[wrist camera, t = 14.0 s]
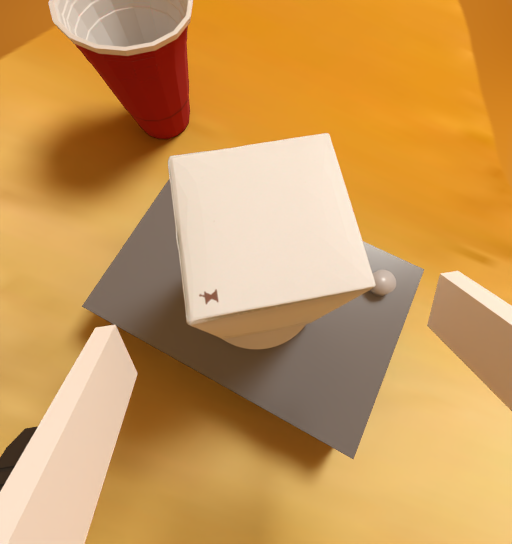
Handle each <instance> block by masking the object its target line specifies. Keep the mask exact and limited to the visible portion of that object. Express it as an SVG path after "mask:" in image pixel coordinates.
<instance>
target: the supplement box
mask: <svg viewBox="0 0 512 544" xmlns="http://www.w3.org/2000/svg"><path fill="white" fill-rule="evenodd" d="M168 168H169V177H170V184H171V192H172V201H173V209H174V218H175V227H176V240H177V246H178V250H179V258H180V267H181V275H182V284H183V293H184V301H185V311H186V322H187V324H188V325H190V326H192V327H195V328H198V329H200V330H202V331H205V332H208V333H210V334H212V335H215V336H217V337H219V338H222V339H229V338H235V337H240V336H246V335H252V334H258V333H264V332H269V331H274V330H280V329H285V328H289V327H294V326H300V325H305V324H309V323H312V322H313V321H315V320H317V319H319V318H321V317H322V316H324V315H326V314H328V313H330V312H331V311H333V310H335V309H337V308H339V307H341V306H342V305H344V304H346V303H348V302H349V301H351V300H353V299H355V298H357V297H358V296H360V295H362V294H363V293H365V292H367V291H369V290H371V289H372V288H374V287H375V285H376V284H375V280H374V277H373V274H372V271H371V268H370V265H369V261H368V258H367V254H366V251H365V248H364V245H363V241H362V238H361V235H360V231H359V228H358V225H357V222H356V219H355V215H354V212H353V209H352V206H351V202H350V199H349V196H348V193H347V190H346V186H345V183H344V180H343V177H342V174H341V170H340V167H339V164H338V161H337V158H336V154H335V151H334V148H333V145H332V142H331V138H330V135H329V134H328V133H324V134H318V135H311V136H304V137H297V138H291V139H285V140H279V141H272V142H265V143H259V144H252V145H246V146H241V147H235V148H228V149H221V150H213V151H205V152H197V153H190V154H183V155H174V156H170V157H169V159H168Z"/></svg>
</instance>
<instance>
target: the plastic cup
mask: <svg viewBox="0 0 512 544" xmlns="http://www.w3.org/2000/svg"><path fill="white" fill-rule="evenodd" d="M48 4H49V8H50V12H51V15H52V19H53V22H54V23H55V25H56V26H57V27H58V28H59V29H60V30H61V31H62V32H63V33H64V34H65V35H66V36H67V37H68V38H69V39H70V40H71V41H72V42H73V43H74V44H75V45H76V46H77V48H78V49H79V50H80V51H81V52H82V53H83V54H84V56H85V57H86V59H87V60H88V61H89V62H90V63H91V64H92V65H93V66H94V68H95V69H96V70H97V72H98V73H99V74H100V76H101V77H102V78H103V80H104V81H105V82H106V84H107V85H108V86H109V88H110V89H111V90H112V92H113V93H114V94H115V96H116V97H117V98H118V100H119V101H120V102H121V104H122V105H123V106H124V108H125V109H126V110H127V111H128V112H129V113H130V114H131V115H132V116H133V118H134V119H135V120H136V122H137V123H138V124H139V126H140V127H141V128H142V129H143V130H144V131H145V132H147V133H148V134H149V135H150V136H153V137H155V138H158V139H168V138H172V137H175V136H177V135H179V134H180V133H181V132H183V131H184V130H185V128H186V127H187V125H188V123H189V115H190V105H189V79H188V61H187V43H186V42H187V28H188V24H189V23H190V18H191V11H192V4H193V0H49V3H48Z"/></svg>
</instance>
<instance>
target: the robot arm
mask: <svg viewBox="0 0 512 544" xmlns="http://www.w3.org/2000/svg"><path fill="white" fill-rule="evenodd" d="M427 326H428V327H429V328H430V329H431V330H432V331H433V332H434V333H435V334H436V335H437V336H438V337H439V338H440V339H441V340H442V341H443V342H444V343H445V344H446V345H447V346H448V347H449V348H450V349H451V350H452V351H453V352H454V353H455V354H456V355H457V356H458V357H459V358H460V359H461V360H462V361H463V362H464V363H465V364H466V365H467V366H468V367H469V368H470V369H471V370H472V371H473V372H474V373H475V374H476V375H477V376H478V377H479V378H480V379H481V380H482V381H483V382H484V383H485V384H486V385H487V386H488V387H489V389H490V390H491V391H492V392H493V393H494V394H495V395H496V396H497V397H498V398H499V399H500V400H501V401H502V402H503V403H504V404H505V405H506V406H507V407H508V408H509V409H510V410H511V411H512V306H511V305H510V304H508V303H506V302H505V301H503V300H502V299H500V298H499V297H497V296H496V295H494V294H493V293H491V292H490V291H488V290H486V289H485V288H483V287H482V286H480V285H479V284H477V283H476V282H474V281H473V280H471V279H470V278H468V277H467V276H465V275H463V274H462V273H460V272H459V271H454V272H448V273H442V274H440V276H439V280H438V284H437V288H436V292H435V296H434V300H433V304H432V308H431V312H430V316H429V320H428V325H427ZM137 374H138V373H137V371H136V369H135V366H134V364H133V362H132V360H131V358H130V355H129V353H128V351H127V349H126V347H125V344H124V342H123V340H122V338H121V336H120V333H119V331H118V329H117V327H116V325H109V326H103V327H96V328H95V329H94V331H93V333H92V334H91V336H90V338H89V339H88V341H87V343H86V345H85V346H84V348H83V350H82V351H81V353H80V355H79V357H78V358H77V360H76V362H75V364H74V365H73V367H72V369H71V370H70V372H69V374H68V376H67V377H66V379H65V381H64V383H63V384H62V386H61V388H60V389H59V391H58V393H57V395H56V396H55V398H54V400H53V402H52V403H51V405H50V407H49V408H48V410H47V412H46V414H45V415H44V417H43V419H42V421H41V422H40V424H39V426H38V427H32V428H26V429H24V430H23V432H22V433H21V434H20V435H19V436H18V437H17V438H16V439H15V440H14V441H13V442H12V443H11V444H10V445H9V446H8V447H7V448H6V450H5V451H4V453H3V454H2V456H1V457H0V544H85V540H86V537H87V534H88V531H89V528H90V524H91V521H92V518H93V515H94V512H95V508H96V505H97V502H98V499H99V496H100V492H101V489H102V486H103V483H104V480H105V477H106V473H107V470H108V467H109V464H110V461H111V457H112V454H113V451H114V448H115V445H116V441H117V438H118V435H119V432H120V429H121V425H122V422H123V419H124V416H125V413H126V409H127V406H128V403H129V400H130V397H131V393H132V390H133V387H134V384H135V381H136V377H137Z"/></svg>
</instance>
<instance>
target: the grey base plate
mask: <svg viewBox="0 0 512 544" xmlns="http://www.w3.org/2000/svg"><path fill="white" fill-rule="evenodd" d="M363 245H364V248H365V251H366V254H367V258H368V261H369V265H370V268H371V271H372V274H373V277H374V280H375V284H376V285H375V287H374V288H372V289H371V290H369V291H367V292H365V293H363V294H362V295H360V296H358V297H357V298H355V299H353V300H351V301H349V302H348V303H346V304H344V305H342V306H341V307H339V308H337V309H335V310H333V311H331V312H330V313H328V314H326V315H324V316H322V317H321V318H319V319H317V320H315V321H313V322H312V323H309V324H305V325H300V326H294V327H289V328H285V329H280V330H274V331H269V332H264V333H258V334H252V335H246V336H240V337H235V338H229V339H222V338H219V337H217V336H215V335H212V334H210V333H208V332H205V331H202V330H200V329H198V328H195V327H192V326H190V325H188V324H187V322H186V311H185V301H184V293H183V284H182V275H181V267H180V258H179V250H178V246H177V240H176V227H175V218H174V209H173V201H172V192H171V184H170V179H169V180H168V182H167V183H166V184H165V186H164V187H163V189H162V190H161V192H160V193H159V195H158V196H157V198H156V199H155V201H154V202H153V203H152V205H151V206H150V208H149V209H148V211H147V212H146V214H145V215H144V217H143V218H142V220H141V221H140V222H139V224H138V225H137V227H136V228H135V230H134V231H133V233H132V234H131V236H130V237H129V238H128V240H127V241H126V243H125V244H124V246H123V247H122V249H121V250H120V252H119V253H118V255H117V256H116V257H115V259H114V260H113V262H112V263H111V265H110V266H109V268H108V269H107V271H106V272H105V274H104V275H103V276H102V278H101V279H100V281H99V282H98V284H97V285H96V287H95V288H94V290H93V291H92V292H91V294H90V295H89V297H88V298H87V300H86V301H85V303H84V304H83V306H82V307H84V308H86V309H87V310H89V311H91V312H93V313H95V314H96V315H98V316H100V317H102V318H103V319H105V320H107V321H109V322H111V323H112V324H114V325H116V326H118V327H119V328H121V329H123V330H125V331H127V332H128V333H130V334H132V335H134V336H135V337H137V338H139V339H141V340H143V341H144V342H146V343H148V344H150V345H151V346H153V347H155V348H157V349H158V350H160V351H162V352H164V353H166V354H167V355H169V356H171V357H173V358H174V359H176V360H178V361H180V362H182V363H183V364H185V365H187V366H189V367H190V368H192V369H194V370H196V371H198V372H199V373H201V374H203V375H205V376H206V377H208V378H210V379H212V380H214V381H215V382H217V383H219V384H221V385H222V386H224V387H226V388H228V389H230V390H231V391H233V392H235V393H237V394H238V395H240V396H242V397H244V398H246V399H247V400H249V401H251V402H253V403H254V404H256V405H258V406H260V407H261V408H263V409H265V410H267V411H269V412H270V413H272V414H274V415H276V416H277V417H279V418H281V419H283V420H285V421H286V422H288V423H290V424H292V425H293V426H295V427H297V428H299V429H301V430H302V431H304V432H306V433H308V434H309V435H311V436H313V437H315V438H317V439H318V440H320V441H322V442H324V443H325V444H327V445H329V446H331V447H333V448H334V449H336V450H338V451H340V452H341V453H343V454H345V455H347V456H349V457H350V458H352V459H354V456H355V453H356V451H357V448H358V445H359V443H360V440H361V437H362V435H363V432H364V429H365V427H366V424H367V421H368V419H369V416H370V413H371V411H372V408H373V405H374V403H375V400H376V397H377V394H378V392H379V389H380V386H381V384H382V381H383V378H384V376H385V373H386V370H387V368H388V365H389V362H390V360H391V357H392V354H393V352H394V349H395V346H396V344H397V341H398V338H399V336H400V333H401V330H402V328H403V325H404V322H405V319H406V317H407V314H408V311H409V309H410V306H411V303H412V301H413V298H414V295H415V293H416V290H417V287H418V285H419V282H420V279H421V277H422V274H423V271H424V269H422V268H420V267H417V266H415V265H413V264H411V263H409V262H407V261H404V260H402V259H400V258H398V257H396V256H394V255H391V254H389V253H387V252H385V251H383V250H381V249H378V248H376V247H374V246H372V245H370V244H368V243H365V242H363Z"/></svg>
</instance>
